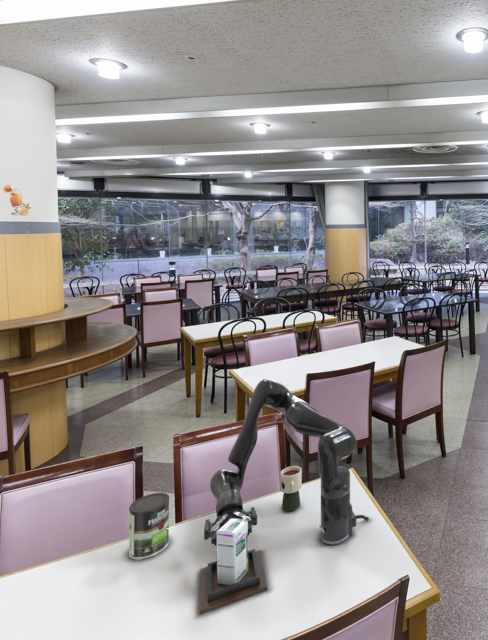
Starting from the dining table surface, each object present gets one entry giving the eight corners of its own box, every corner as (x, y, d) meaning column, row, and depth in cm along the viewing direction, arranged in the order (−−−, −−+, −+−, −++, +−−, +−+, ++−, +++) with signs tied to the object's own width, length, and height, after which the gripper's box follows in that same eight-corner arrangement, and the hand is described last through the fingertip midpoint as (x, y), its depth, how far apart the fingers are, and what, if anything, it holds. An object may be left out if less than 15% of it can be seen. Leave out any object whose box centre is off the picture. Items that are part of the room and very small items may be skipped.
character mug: (279, 501, 156) (280, 465, 156) (300, 497, 159) (300, 461, 159) (281, 519, 146) (281, 480, 146) (302, 514, 149) (302, 476, 149)
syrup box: (235, 587, 116) (235, 533, 116) (216, 583, 117) (216, 530, 117) (248, 571, 122) (248, 519, 122) (230, 568, 123) (230, 517, 123)
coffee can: (176, 540, 136) (177, 495, 136) (145, 563, 126) (145, 515, 126) (153, 533, 139) (153, 489, 139) (120, 555, 129) (120, 508, 129)
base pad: (260, 553, 130) (260, 543, 130) (267, 590, 116) (267, 579, 116) (200, 572, 123) (200, 561, 123) (199, 614, 108) (199, 602, 109)
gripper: (204, 501, 134) (204, 532, 120) (253, 489, 141) (259, 516, 127) (204, 525, 134) (203, 559, 120) (253, 512, 141) (258, 542, 127)
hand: (232, 537), depth 123 cm, fingers open, 8 cm apart
